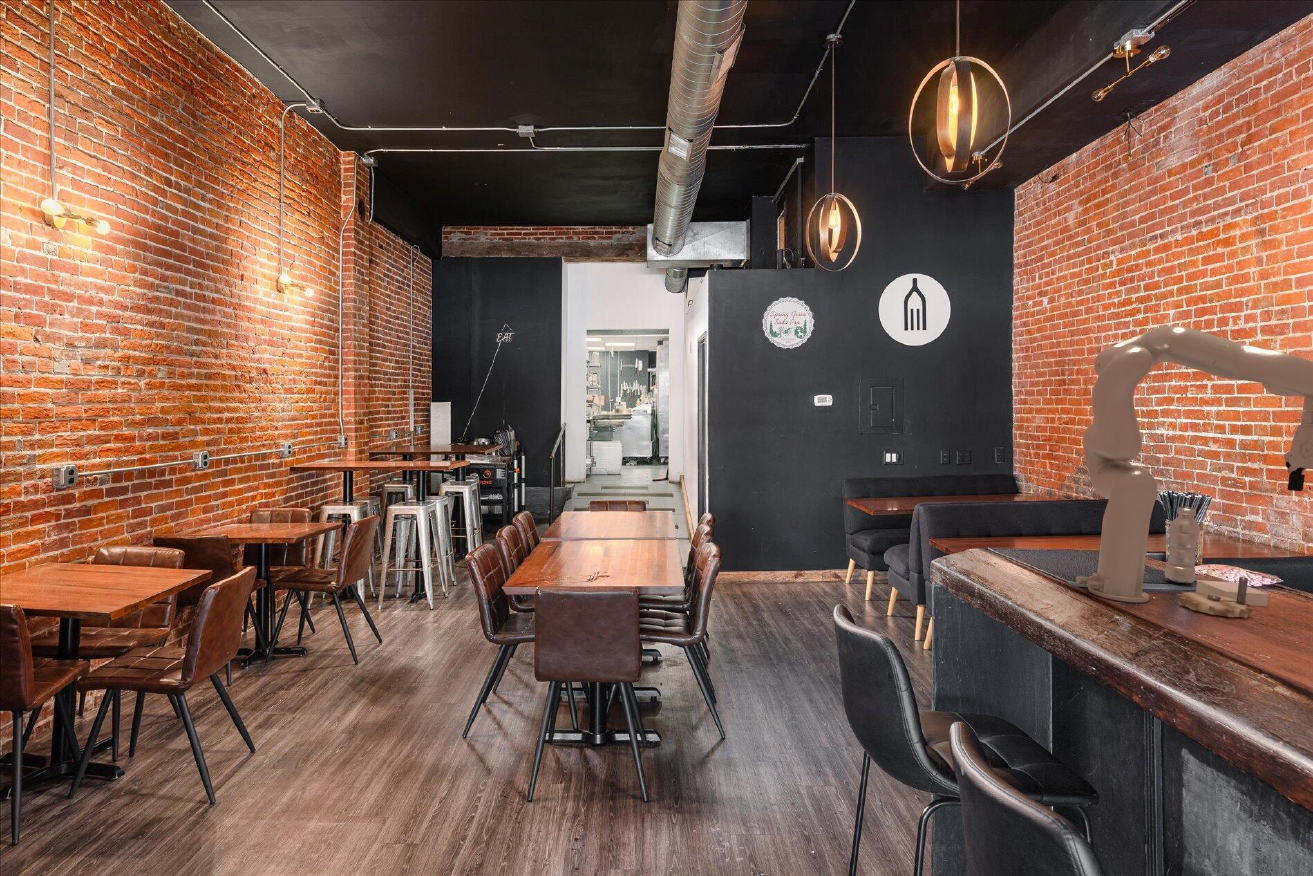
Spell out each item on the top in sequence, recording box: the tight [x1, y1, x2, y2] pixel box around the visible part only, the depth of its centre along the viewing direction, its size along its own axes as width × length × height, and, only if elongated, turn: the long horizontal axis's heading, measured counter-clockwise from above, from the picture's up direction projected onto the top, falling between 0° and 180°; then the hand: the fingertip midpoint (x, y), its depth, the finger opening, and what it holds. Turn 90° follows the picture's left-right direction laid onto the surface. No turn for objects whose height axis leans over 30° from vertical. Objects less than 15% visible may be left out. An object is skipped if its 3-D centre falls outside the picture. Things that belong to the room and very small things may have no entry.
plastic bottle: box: [1164, 506, 1201, 583], centre depth 197 cm, size 6×7×20 cm
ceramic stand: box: [1195, 579, 1270, 607], centre depth 185 cm, size 10×10×3 cm
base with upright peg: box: [1175, 576, 1254, 618], centre depth 174 cm, size 14×14×8 cm
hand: (1312, 494), depth 175 cm, fingers open, 9 cm apart
